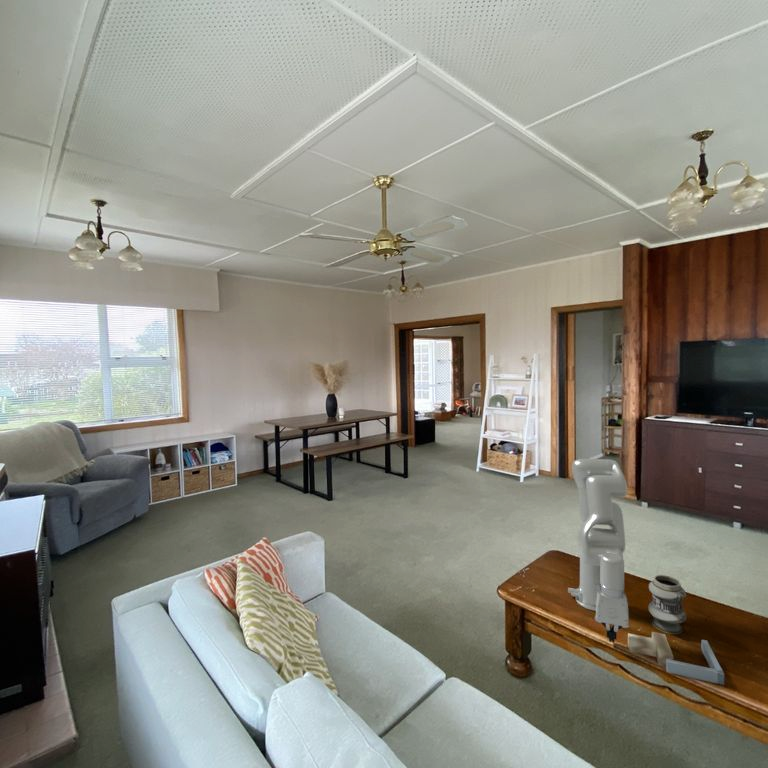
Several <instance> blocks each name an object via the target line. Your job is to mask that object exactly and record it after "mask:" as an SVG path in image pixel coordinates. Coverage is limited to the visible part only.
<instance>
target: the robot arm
mask: <svg viewBox="0 0 768 768" xmlns="http://www.w3.org/2000/svg"><path fill="white" fill-rule="evenodd" d="M571 472H572V477H573V480H574V481H575V484H576V486H577V491H578V504H579V505H578V509H579V516H580V519H581V521H582V523H583V524H582V525H581V527H580V529H579V531H578V533H577V542H578V547H579V586H578V588H572V587H567V593H569V594H571V596H573V597H575V602H577V604H578V605H579V606H581V607H583V608H584V609H587V610H590V611H595V615H594V621H595V622H597V623H599V624H602V625H603V626H604V628H605V630H606V638H607V639H608V640H609V642H610V643H613V644H614V643H615V640H617V632H619V630H620V629H622V628H625V629H626V628H628V629H629V627H630V624H629V621H630V618H629V614H630V613H629V603H628V598H627V595H626V593H625V560H624V554H623V553H624V552H625V551H626V535H625V527H624V526H625V525H624V515H623V511H622V508H621V507H620V505H619V504H618V503H616V502H614V501H613V500H612V498H625V497H626V496H627V495H628V484H627V483H628V482H627V481H626V480H627V479H626V478H625V475H624V473H623V471H622V469H621V467H620V465H619V463H618V462H617V461H615V460H614V459H605V458H604V459H603V458H579V459H575V460H574V461H573V462H572V463H571ZM596 525H597V526H598V525H599V526H608V527H609V528H600V527H594V526H596ZM611 625H612V626H611Z"/></svg>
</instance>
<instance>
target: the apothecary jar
mask: <svg viewBox="0 0 768 768" xmlns="http://www.w3.org/2000/svg"><path fill="white" fill-rule="evenodd" d="M648 589H649V592H650V593H651V601H650V602H649V603H648V606H647V609H648V611H649V613H650V614H651V615H652V616H653V618H652V619H651V625H652V626H653V627H654V628H655V629H657V630H659V631H660V632H662V633H664V634H665V633H666V634H669V635H679V634H681V633H682V632H683V628H682V626H681V625H680V624H683V623H685V622H686V620H687V613H686V612H685V610H684V608H683V601H684V600H686V597H687V593H686V590H685V589H684V588H683V587H682V583H681V582H680V580H679V579H677V578H674V577H672V576H669V575H666V574H665V575H664V574H658V575H657V574H656V575H655V576H654V577H653V579H652V580H651V581H650V582H649V583H648Z"/></svg>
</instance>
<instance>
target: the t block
mask: <svg viewBox="0 0 768 768" xmlns="http://www.w3.org/2000/svg"><path fill="white" fill-rule="evenodd" d="M627 646H628V649H629V650H628V651H629V652H631V653H635V654H641V655H646V656H650V657H655V658H656V660H657V664H658V666H662V667H666V659H670V660H674V655H673V652H672V649H671V647H670V644H669V642H668V638H667V636H666V634H665V633H661V632H656V631H651V637H650V636H649V637H647V636H644V635H638V634H634V633H629V632H628V633H627Z"/></svg>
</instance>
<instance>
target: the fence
mask: <svg viewBox="0 0 768 768" xmlns="http://www.w3.org/2000/svg"><path fill="white" fill-rule="evenodd" d="M700 644H701V646H700V649H701V652H702V654H703V656H704V658H705V660H706V663H707V664H708V667H706V666H701V665H698V664H692V663H688V662H683V661H679V660H676V659H675V660H674V659H673V660H670V659H666V666H665V670H666V672H667V673H669V674H673V675H678V676H680V677H681V676H682V677H686V678H691V679H695V680H699V681H704V682H709V683H713V684H717V685H723V686H725V673H724V670H723V668H722V667H721V665H720V663H719V661H718V659H717V658H716V656H715V653H714V651H713V650H712V647H711V646H710V644H709V641H708V640H705V639H701V643H700Z"/></svg>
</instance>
